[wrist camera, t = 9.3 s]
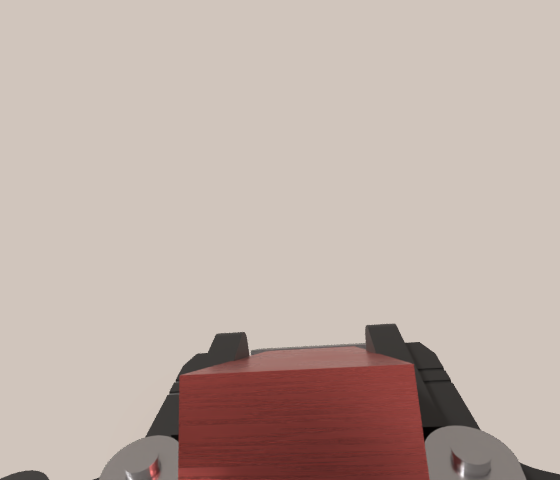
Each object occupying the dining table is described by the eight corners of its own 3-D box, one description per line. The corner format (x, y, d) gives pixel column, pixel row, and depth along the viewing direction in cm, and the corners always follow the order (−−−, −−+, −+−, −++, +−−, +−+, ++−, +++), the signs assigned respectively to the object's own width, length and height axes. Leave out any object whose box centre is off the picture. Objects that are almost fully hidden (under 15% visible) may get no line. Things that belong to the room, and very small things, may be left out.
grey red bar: (692, 673, 4) (608, 354, 5) (-11, 657, 5) (21, 383, 5) (380, 389, 25) (374, 339, 25) (260, 394, 25) (258, 346, 26)
